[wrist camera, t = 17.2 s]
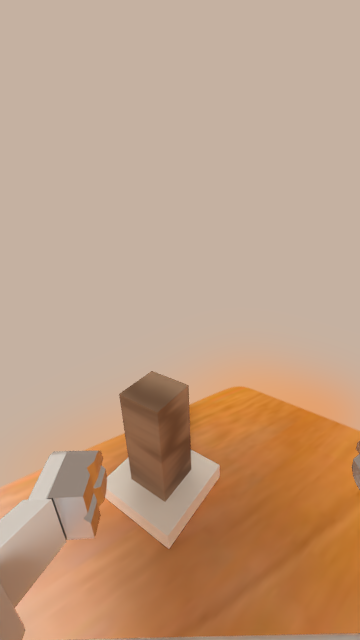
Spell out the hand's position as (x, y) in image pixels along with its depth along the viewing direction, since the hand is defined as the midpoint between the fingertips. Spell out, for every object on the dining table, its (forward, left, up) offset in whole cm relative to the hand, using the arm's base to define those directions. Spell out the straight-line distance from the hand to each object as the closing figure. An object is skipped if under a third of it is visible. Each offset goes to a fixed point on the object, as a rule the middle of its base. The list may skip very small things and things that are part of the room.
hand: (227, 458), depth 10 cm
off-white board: (-12, -15, -25) cm, 31 cm away
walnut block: (-12, -15, -23) cm, 30 cm away
